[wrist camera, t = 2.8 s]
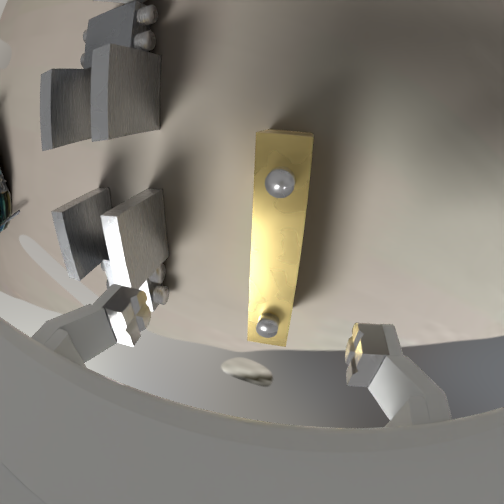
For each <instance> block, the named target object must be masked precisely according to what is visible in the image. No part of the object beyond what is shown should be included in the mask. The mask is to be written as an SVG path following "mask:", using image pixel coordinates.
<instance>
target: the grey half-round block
mask: <svg viewBox="0 0 504 504" xmlns="http://www.w3.org/2000/svg"><path fill="white" fill-rule="evenodd" d="M93 1H104V2H117V3H126V4H128V3H130V2H133V1H138V2H140V3H143V2H145V1H147V0H93Z"/></svg>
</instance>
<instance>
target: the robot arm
mask: <svg viewBox="0 0 504 504" xmlns="http://www.w3.org/2000/svg"><path fill="white" fill-rule="evenodd" d="M147 299H148V298H147V295H146V292H145V291H143V290H139V289H135V288H131V287H127V286H122V285H119V284H112V285H111V286H110V287H109V288H108V289H107V290H106V291H105V292H104V293H103V294H102V295H101V296H100V297H99V298H98V299H97V300H96V302H95V303H94V304H93V305H91V304H89V305H86V306H83V307H81V308H78V309H76V310H73V311H71V312H68V313H66V314H63V315H61V316H58V317H56V318H53V319H51V320H48V321H46V323H45V324H44V325H43V326H42V327H41V328H40V329H39V330H38V331H37V332H36V333H35V334H34V335H33V336H32V337H29V336H27V335H26V334H24V333H23V332H21V331H20V330H18V329H17V328H15V327H14V326H12V325H11V324H9V323H8V322H6V321H5V320H4V319H2V318H1V317H0V504H504V407H502V408H499V409H495V410H492V411H488V412H484V413H480V414H476V415H472V416H468V417H463V418H458V419H453V420H452V417H451V413H450V409H449V405H448V401H447V398H446V394H445V392H444V391H443V390H442V389H441V388H440V387H438V385H437V384H435V383H434V382H433V381H432V380H431V379H430V378H429V377H428V376H427V375H426V374H425V373H424V372H423V371H422V370H421V369H420V368H419V367H418V366H417V365H416V364H415V363H413V362H412V361H411V360H410V359H409V358H408V357H407V356H403V353H402V350H401V346H400V343H399V339H398V336H397V333H396V329H395V326H394V325H393V324H370V323H355V324H354V326H353V329H352V334H353V336H352V337H351V338H349V340H348V343H347V346H346V351H345V362H346V364H347V365H348V369H347V371H346V378H347V386H358V387H368V389H369V390H370V392H371V393H372V395H373V396H374V398H375V399H376V401H377V402H378V403H379V405H380V406H381V408H382V409H383V411H384V412H385V414H386V415H387V416H388V418H389V419H390V422H389V423H388V424H387V425H386V426H385V427H384V428H325V427H307V426H297V425H287V424H279V423H271V422H264V421H258V420H252V419H246V418H240V417H235V416H230V415H225V414H220V413H216V412H212V411H208V410H204V409H199V408H196V407H192V406H188V405H185V404H180V403H177V402H174V401H170V400H168V399H164V398H161V397H158V396H155V395H152V394H149V393H146V392H143V391H141V390H138V389H135V388H133V387H130V386H127V385H125V384H122V383H120V382H117V381H115V380H112V379H110V378H108V377H105V376H103V375H101V374H99V373H96V372H94V371H92V370H90V369H88V368H87V367H86V366H85V364H84V363H85V362H87V361H88V360H90V359H92V358H93V357H95V356H96V355H98V354H100V353H101V352H103V351H104V350H106V349H108V348H109V347H111V346H113V345H114V344H116V343H117V342H119V343H122V344H125V345H128V346H132V347H134V345H135V343H136V342H137V341H138V340H139V338H140V337H141V335H140V331H143V330H145V329H146V328H147V326H148V325H149V322H150V318H151V311H150V307H149V306H148V305H147V304H146V301H147Z"/></svg>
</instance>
